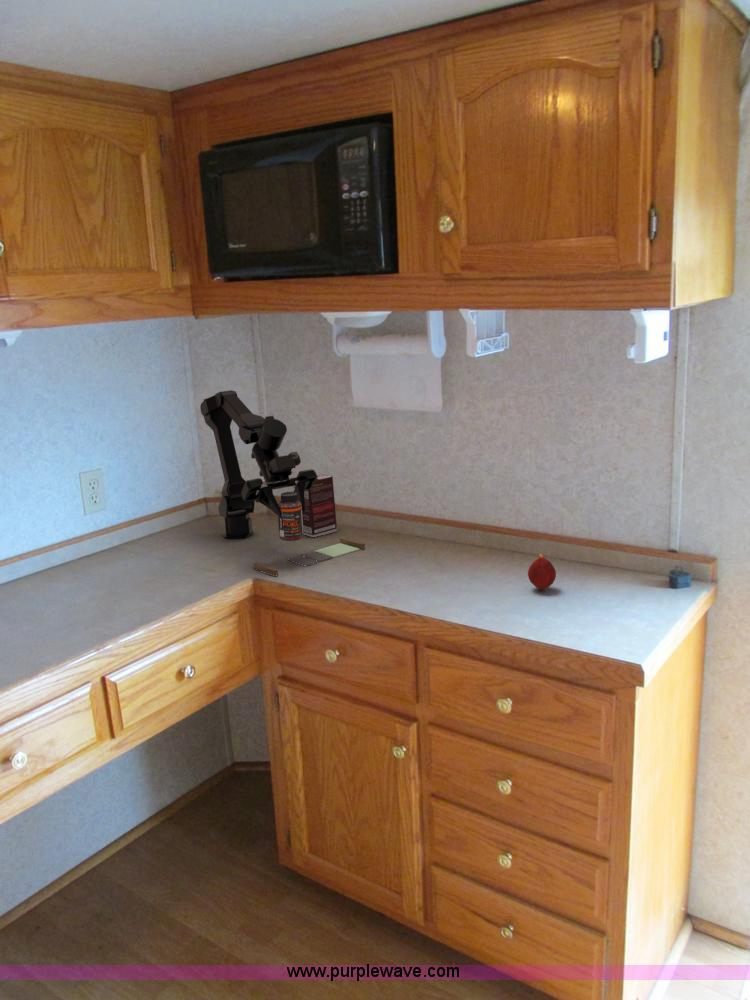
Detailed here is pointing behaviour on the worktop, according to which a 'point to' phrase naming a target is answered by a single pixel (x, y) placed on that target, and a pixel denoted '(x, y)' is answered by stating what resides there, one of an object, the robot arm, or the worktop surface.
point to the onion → (541, 573)
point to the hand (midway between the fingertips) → (292, 513)
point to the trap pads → (309, 558)
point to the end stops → (275, 571)
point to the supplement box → (320, 508)
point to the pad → (337, 550)
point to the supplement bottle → (290, 517)
